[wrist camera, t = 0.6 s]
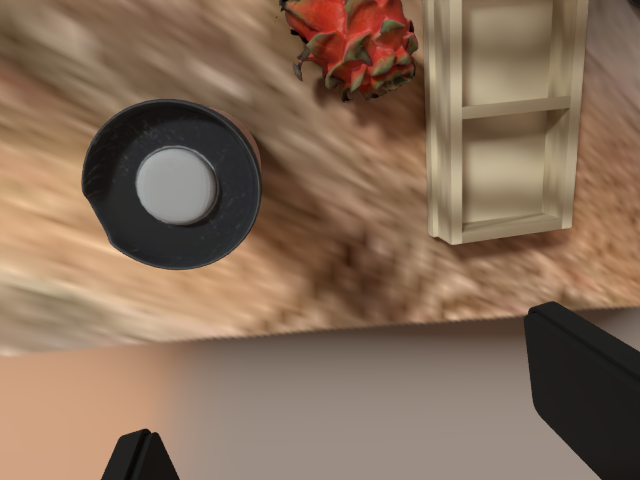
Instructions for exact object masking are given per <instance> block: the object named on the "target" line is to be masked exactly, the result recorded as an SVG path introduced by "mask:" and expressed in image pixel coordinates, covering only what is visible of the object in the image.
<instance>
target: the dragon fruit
mask: <svg viewBox="0 0 640 480" xmlns="http://www.w3.org/2000/svg"><path fill="white" fill-rule="evenodd" d="M287 1H288V0H280V1H279V5H280V6H282V8H281V12H282V11H283V10H285V11H286V14H285V15H286V20H287V22H288V24H289V26H290V31H291V34H292V35H298V36H300V38H301V39H302V41H303V43H305V44H306V46H307V48H306V49H305V50H304V51H303V52H302V53H301V54H300V55H299V56H298V57H297V58H298V59H299V63H298V66H297V65H296V64H293V69H294V73H295V75H296V76H297V78H298V79H299V80H300V81H303V80H302V73H301V65H302V62H304V61H314V62H316V63H318V64H320V65H321V66H323V78H324V79H326V82H325V87H326V88H328V89H330V90H333V89H335V87H336V86H337V85H338V84H340V88H339V94H340V97H341V99H342V101H343V102H346V103H349V102H351V101H353V99H348V96H347V92H348V90H349V89H350V88H351V92H350V93H351V94H353V93H354V92H356V90H357V89H358V87H359V89H360V92H361V94H362V95H363V96H364V97H365V100H367V101H368V100H370V99H371V98H377V97H379V96H382V95H384V94H386V93H387V91H392V90H393V91H394V90H396V89H397V88H398V87H400V86H402V85H403V84H405V83H408V82H410V81H411V79H407V78H413V76H414V77H415V70H416V61H415V59H414V58H413V57H412V56H411V54H412V53H413V52H415V51H416V50H417V49H418V41H417V38H416V36H415V34H414V27H413V23H412V20H410V19H407V18H405V17H404V14H403V9H402V3H401V0H298V1H296V0H295V1H292V2H289V3H285V2H287ZM277 17H278V16H277ZM277 17H276V18H277ZM275 24H276V23H275ZM305 39H306V40H308V42H309V43H308V42H307V41H306V40H305Z"/></svg>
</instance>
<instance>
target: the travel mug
mask: <svg viewBox="0 0 640 480" xmlns="http://www.w3.org/2000/svg"><path fill="white" fill-rule="evenodd" d="M82 192H83V194H84V196H85V197H86V198H87V199H88V201H89V202H90V204H91V206H92V208H93V210H94V212H95V213H96V215H97V217H98V219H99V221H100V223H101V224H102V226H103V228H104V230H105V232H106V234H107V236H108V239H109V242H110V244H111V245H112V246H113V247H115V248H116V249H117V250H118V251H120V252H122V253H123V254H125V255H126V256H128V257H130V258H132V259H134V260H136V261H139V262H141V263H143V264H146V265H149V266H153V267H156V268H162V269H168V270H187V269H194V268H199V267H203V266H206V265H209V264H211V263H214V262H216V261H218V260H220V259H222V258H223V257H225V256H226V255H228V254H229V253H231V252H232V251H233V250H234V249H235V248H237V247H238V246H239V244H240V243H241V242H242V241H243V240H244V239H245V238H246V236H247V235H248V233H249V232H250V230H251V228H252V226H253V225H254V223H255V220H256V217H257V215H258V212H259V208H260V203H261V194H262V180H261V158H260V153H259V150H258V147H257V144H256V142H255V140H254V138H253V136H252V135H251V133H250V132H249V131H248V129H247V128H246V127H245V126H244V125H243V124H242V123H241V122H240V121H239V120H237V119H236V118H235V117H233V116H231V115H230V114H228V113H226V112H223V111H221V110H218V109H215V108H211V107H207V106H204V105H200V104H196V103H192V102H189V101H184V100H177V99H157V100H150V101H145V102H142V103H138V104H135V105H133V106H130V107H128V108H126V109H124V110H122V111H121V112H119V113H118V114H116V115H114V116H113V117H112V118H111V119H110V120H109V121H107V122H106V123H105V124H104V125H103V126H102V128H101V129H100V130H99V131H98V132H97V134H96V135H95V137H94V139H93V140H92V142H91V144H90V146H89V149H88V151H87V153H86V157H85V161H84V164H83V171H82Z"/></svg>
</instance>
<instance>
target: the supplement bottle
mask: <svg viewBox="0 0 640 480" xmlns="http://www.w3.org/2000/svg"><path fill="white" fill-rule="evenodd" d="M631 2H632V3H633V4H634V5H635V6H636V7H638V8H639V9H640V0H631Z"/></svg>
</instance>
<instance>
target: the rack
mask: <svg viewBox="0 0 640 480" xmlns="http://www.w3.org/2000/svg"><path fill="white" fill-rule="evenodd" d="M422 4H423V43H424V83H425V122H426V161H427V200H428V234H429V235H431V236H432V237H440V238H441V239H443V240H445V241H446V242H448V243H449V244H451V245H455V244H462V243H469V242H476V241H483V240H490V239H496V238H503V237H510V236H517V235H524V234H531V233H538V232H545V231H552V230H559V229H565V228H571V227H572V214H573V201H574V188H575V174H576V161H577V148H578V135H579V122H580V109H581V96H582V83H583V70H584V57H585V44H586V31H587V17H588V4H589V0H422Z"/></svg>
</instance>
